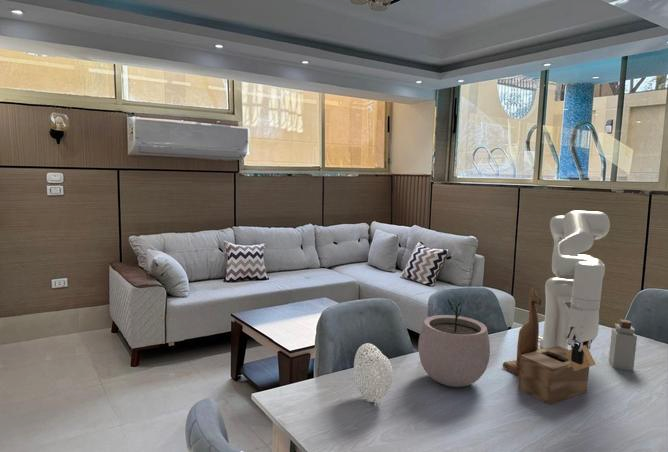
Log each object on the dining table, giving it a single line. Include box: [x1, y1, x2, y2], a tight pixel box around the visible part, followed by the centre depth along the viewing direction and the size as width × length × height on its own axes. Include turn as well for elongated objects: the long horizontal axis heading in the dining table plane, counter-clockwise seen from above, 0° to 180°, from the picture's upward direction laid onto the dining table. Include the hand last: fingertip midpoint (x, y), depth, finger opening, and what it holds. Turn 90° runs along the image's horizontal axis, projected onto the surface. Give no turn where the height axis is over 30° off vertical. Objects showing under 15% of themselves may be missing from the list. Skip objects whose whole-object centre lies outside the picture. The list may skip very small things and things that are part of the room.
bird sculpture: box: [502, 287, 542, 377], centre depth 164 cm, size 11×12×32 cm
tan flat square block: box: [565, 345, 597, 371], centre depth 136 cm, size 6×2×6 cm
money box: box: [517, 346, 590, 406], centre depth 152 cm, size 12×20×12 cm, turn 120°
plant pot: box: [417, 299, 491, 388], centre depth 155 cm, size 24×24×30 cm
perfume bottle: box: [608, 318, 638, 371], centre depth 174 cm, size 7×7×18 cm
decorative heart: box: [353, 342, 394, 410], centre depth 140 cm, size 18×11×17 cm, turn 16°
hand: (579, 361), depth 136 cm, fingers closed on tan flat square block, 2 cm apart
